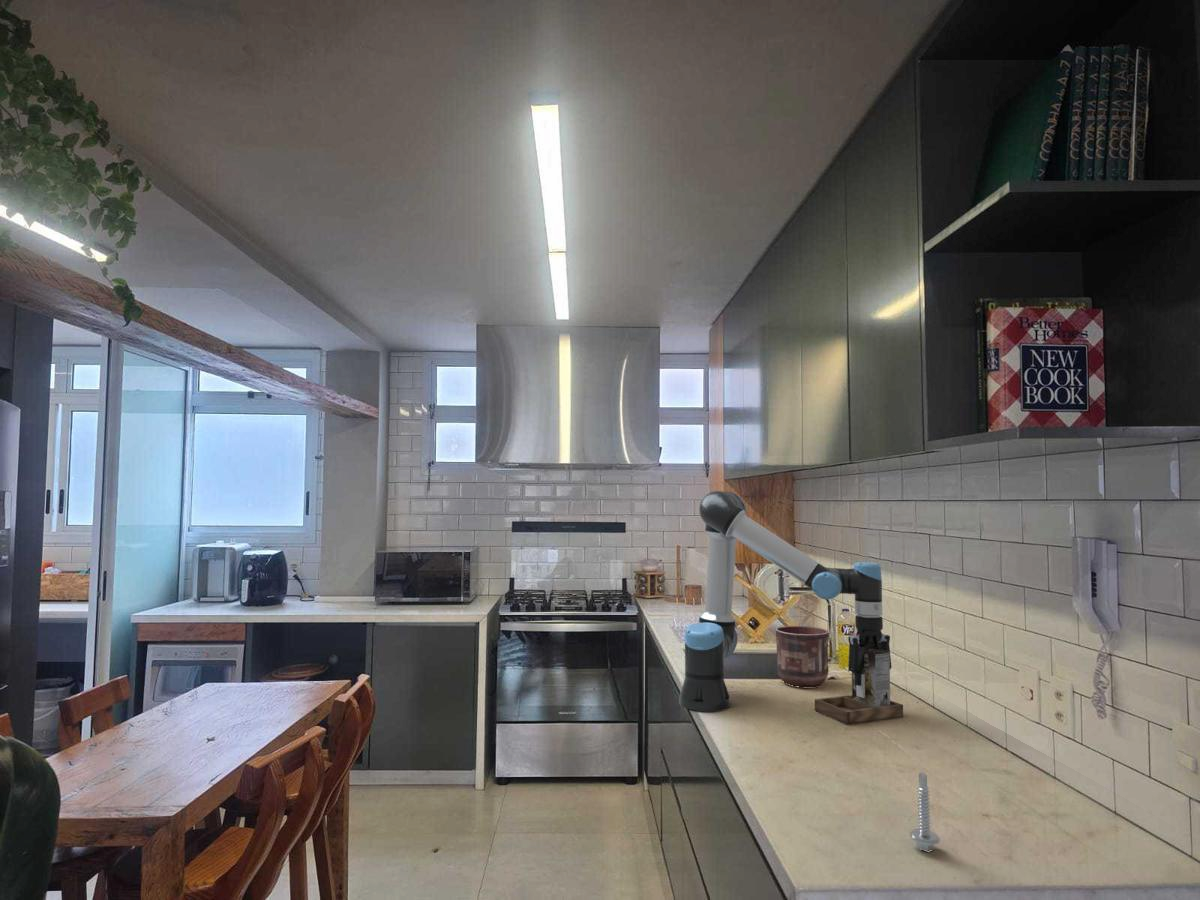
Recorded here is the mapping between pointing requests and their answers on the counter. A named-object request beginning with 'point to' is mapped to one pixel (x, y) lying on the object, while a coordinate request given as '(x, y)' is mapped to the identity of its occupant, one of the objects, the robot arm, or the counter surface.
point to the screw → (924, 819)
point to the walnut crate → (856, 710)
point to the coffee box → (875, 678)
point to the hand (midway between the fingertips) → (870, 695)
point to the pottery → (802, 655)
